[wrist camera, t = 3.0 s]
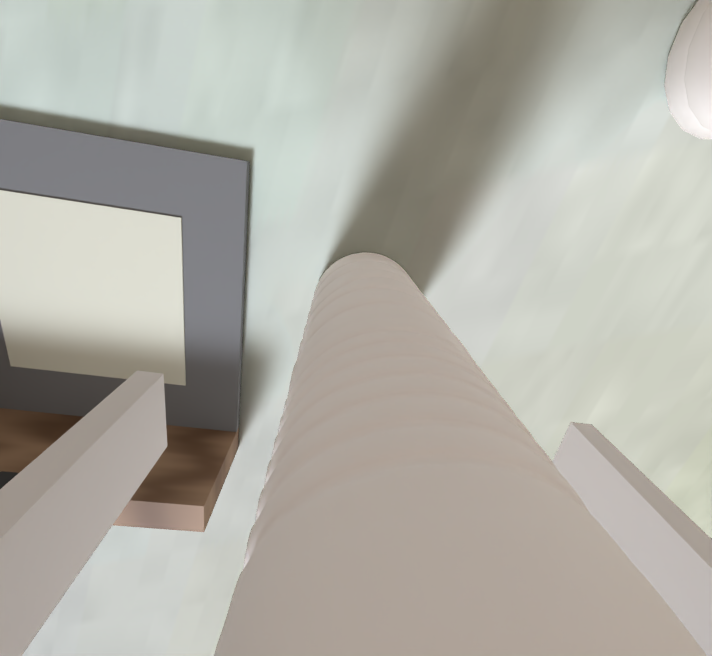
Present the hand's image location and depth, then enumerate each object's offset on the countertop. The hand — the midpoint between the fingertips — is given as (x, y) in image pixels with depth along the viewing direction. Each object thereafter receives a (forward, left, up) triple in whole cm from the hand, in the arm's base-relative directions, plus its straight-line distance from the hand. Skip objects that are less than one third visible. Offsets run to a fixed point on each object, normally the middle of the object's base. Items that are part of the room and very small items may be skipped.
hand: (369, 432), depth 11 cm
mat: (-16, -1, -12) cm, 20 cm away
